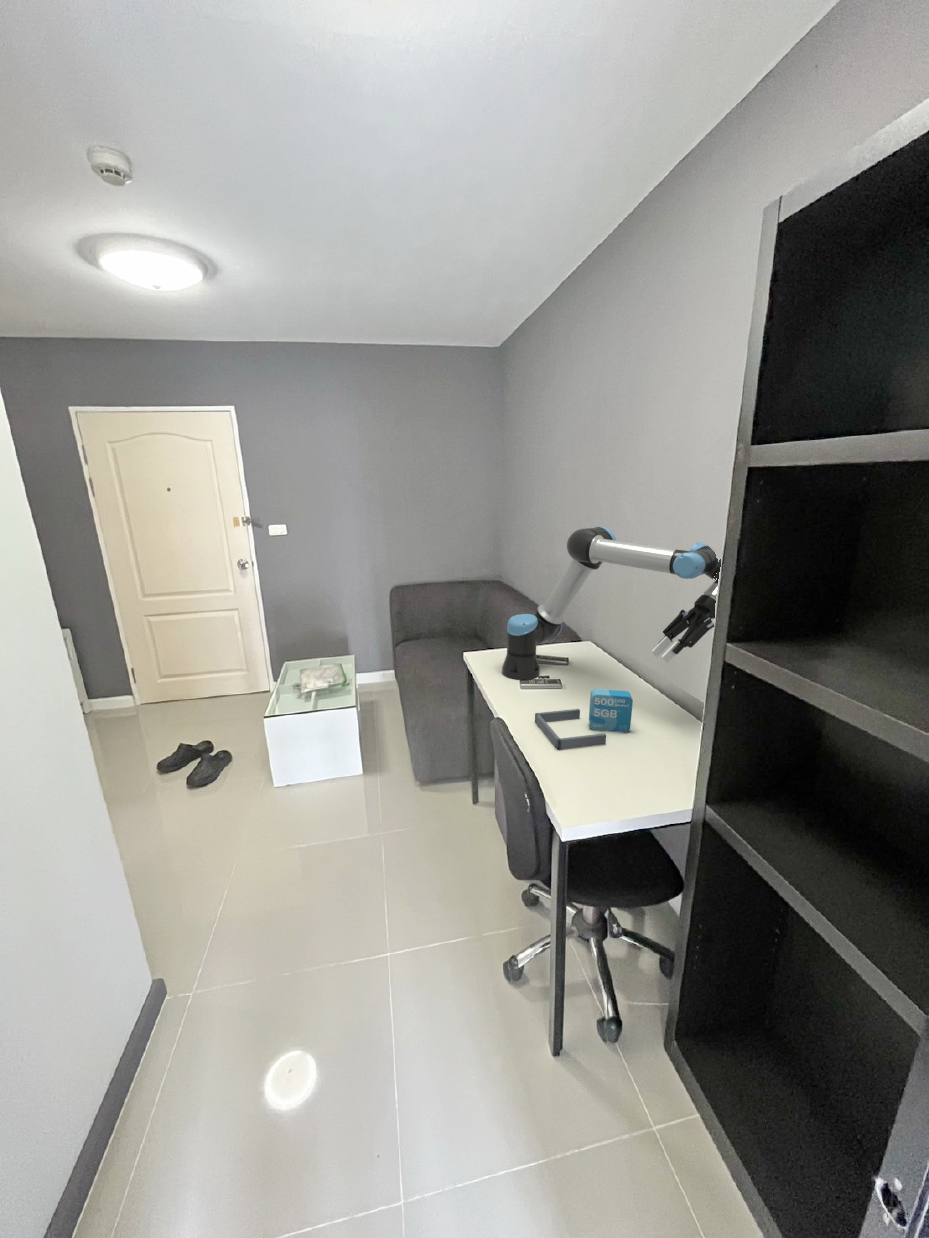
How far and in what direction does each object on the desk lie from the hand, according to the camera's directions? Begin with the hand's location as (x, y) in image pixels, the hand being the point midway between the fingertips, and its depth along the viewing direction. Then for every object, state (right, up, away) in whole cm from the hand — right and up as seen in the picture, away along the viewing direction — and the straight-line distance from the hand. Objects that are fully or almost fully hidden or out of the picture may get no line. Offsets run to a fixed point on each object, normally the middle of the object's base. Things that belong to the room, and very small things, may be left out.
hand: (659, 656), depth 149 cm
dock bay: (-28, -23, 0) cm, 36 cm away
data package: (-15, -23, +2) cm, 27 cm away
